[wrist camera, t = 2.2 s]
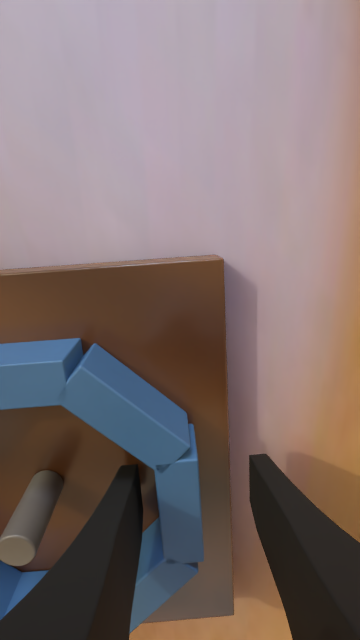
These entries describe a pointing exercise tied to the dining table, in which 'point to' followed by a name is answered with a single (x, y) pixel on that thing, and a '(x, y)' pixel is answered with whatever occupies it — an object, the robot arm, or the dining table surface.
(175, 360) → the platform
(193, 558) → the ring
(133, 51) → the dining table surface
